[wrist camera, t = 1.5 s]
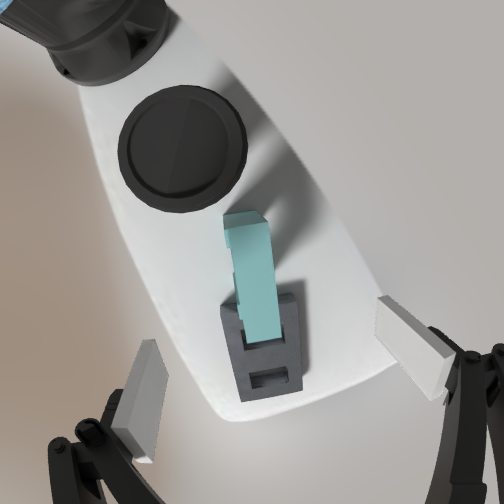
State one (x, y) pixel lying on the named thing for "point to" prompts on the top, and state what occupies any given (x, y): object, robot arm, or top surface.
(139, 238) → the top surface
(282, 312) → the grey slotted slab
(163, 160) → the coffee cup
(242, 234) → the teal u-shaped block
